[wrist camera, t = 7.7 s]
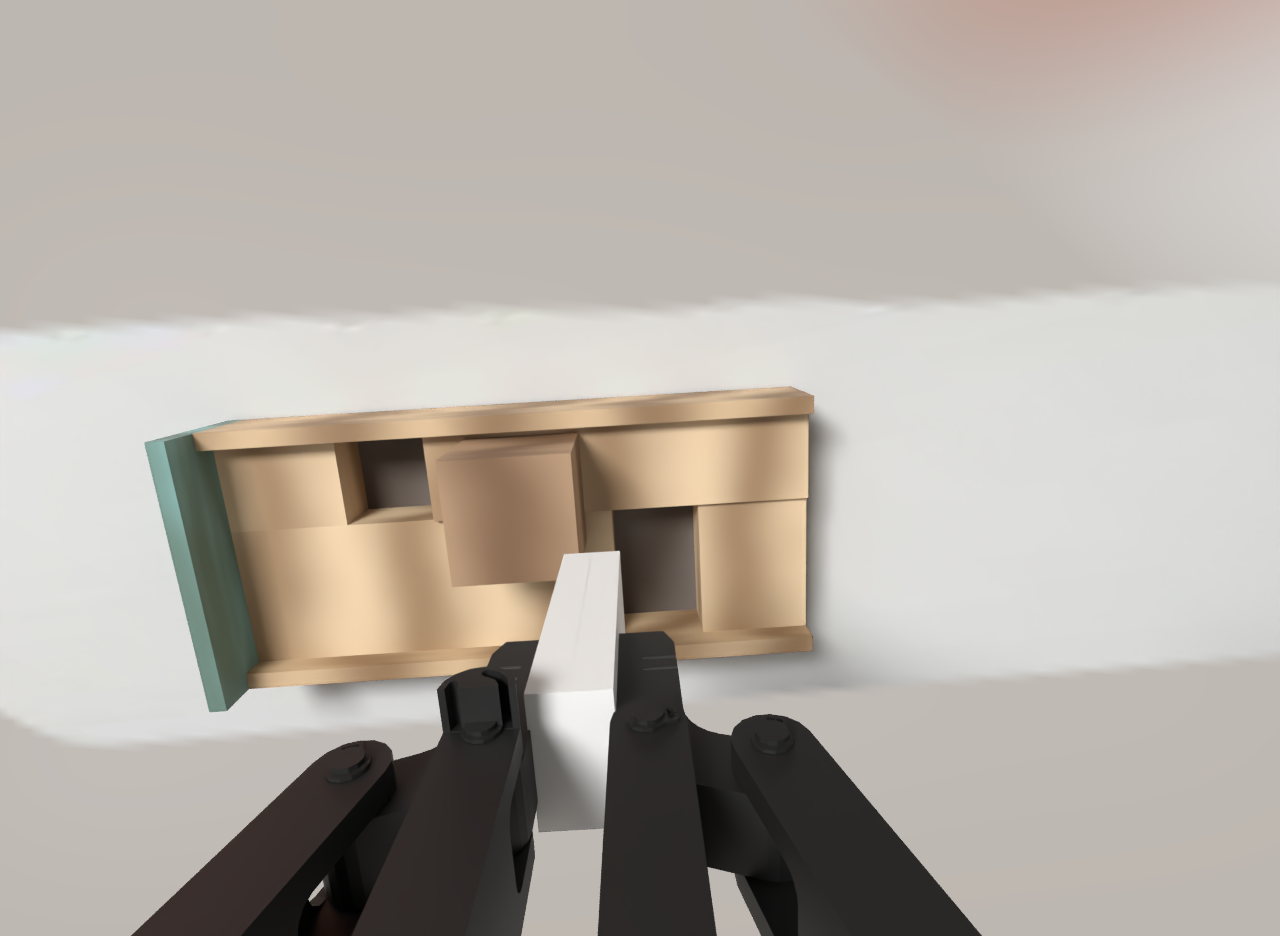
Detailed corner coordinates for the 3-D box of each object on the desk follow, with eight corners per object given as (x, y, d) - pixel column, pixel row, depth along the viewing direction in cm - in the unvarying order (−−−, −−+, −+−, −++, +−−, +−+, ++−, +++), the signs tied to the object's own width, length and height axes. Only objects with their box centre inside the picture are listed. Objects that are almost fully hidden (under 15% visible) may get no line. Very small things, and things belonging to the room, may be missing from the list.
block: (578, 432, 28) (570, 453, 24) (586, 539, 29) (581, 578, 25) (464, 439, 28) (434, 461, 23) (477, 546, 29) (451, 587, 25)
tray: (790, 386, 31) (826, 400, 25) (791, 614, 33) (823, 670, 28) (228, 420, 30) (144, 442, 25) (276, 648, 33) (209, 712, 28)
